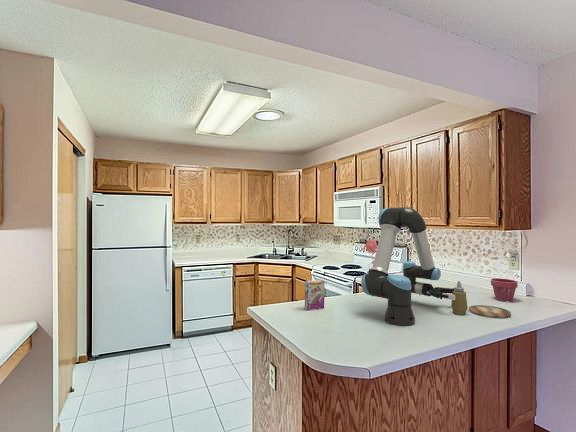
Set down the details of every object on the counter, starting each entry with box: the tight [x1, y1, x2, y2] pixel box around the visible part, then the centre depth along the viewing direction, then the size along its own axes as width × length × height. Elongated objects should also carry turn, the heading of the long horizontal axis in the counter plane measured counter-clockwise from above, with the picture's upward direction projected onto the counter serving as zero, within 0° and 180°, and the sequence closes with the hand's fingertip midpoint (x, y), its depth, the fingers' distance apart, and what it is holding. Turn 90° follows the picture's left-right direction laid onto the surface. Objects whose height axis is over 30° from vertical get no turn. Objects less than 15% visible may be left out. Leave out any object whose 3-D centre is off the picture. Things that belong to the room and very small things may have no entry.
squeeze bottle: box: [450, 280, 469, 316], centre depth 177 cm, size 8×8×18 cm
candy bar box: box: [304, 279, 325, 311], centre depth 188 cm, size 11×5×16 cm, turn 110°
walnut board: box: [468, 304, 512, 319], centre depth 178 cm, size 20×20×2 cm
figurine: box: [360, 238, 378, 265], centre depth 274 cm, size 15×26×35 cm, turn 41°
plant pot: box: [490, 277, 519, 302], centre depth 204 cm, size 14×14×13 cm
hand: (460, 295), depth 177 cm, fingers open, 13 cm apart
